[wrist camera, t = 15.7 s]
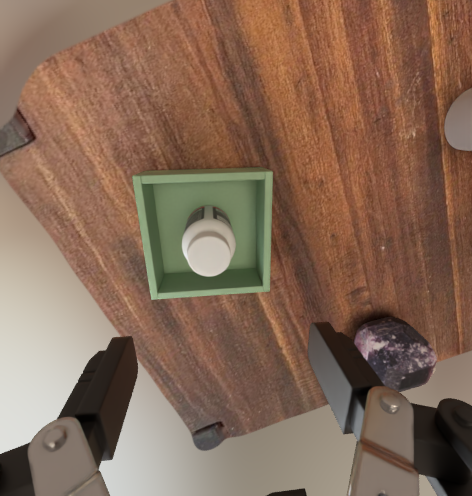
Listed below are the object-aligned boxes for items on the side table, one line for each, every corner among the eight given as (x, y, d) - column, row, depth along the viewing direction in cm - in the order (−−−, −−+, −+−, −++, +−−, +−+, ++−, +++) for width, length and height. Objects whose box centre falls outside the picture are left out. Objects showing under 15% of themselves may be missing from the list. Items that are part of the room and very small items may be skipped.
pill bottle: (189, 248, 34) (183, 286, 25) (183, 206, 32) (173, 231, 23) (232, 244, 34) (241, 280, 25) (228, 202, 32) (236, 225, 23)
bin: (159, 277, 35) (151, 299, 30) (144, 170, 31) (131, 175, 25) (261, 270, 36) (269, 291, 31) (262, 166, 32) (273, 171, 26)
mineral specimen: (387, 377, 44) (410, 426, 34) (334, 337, 45) (341, 373, 35) (432, 336, 41) (470, 376, 31) (374, 294, 42) (393, 320, 33)
